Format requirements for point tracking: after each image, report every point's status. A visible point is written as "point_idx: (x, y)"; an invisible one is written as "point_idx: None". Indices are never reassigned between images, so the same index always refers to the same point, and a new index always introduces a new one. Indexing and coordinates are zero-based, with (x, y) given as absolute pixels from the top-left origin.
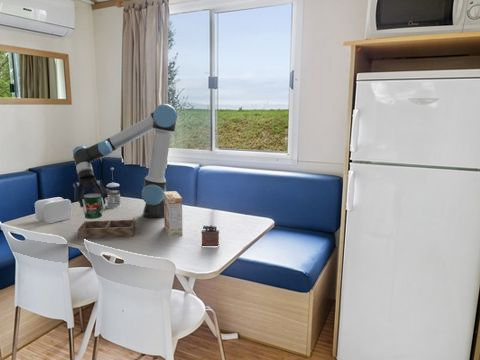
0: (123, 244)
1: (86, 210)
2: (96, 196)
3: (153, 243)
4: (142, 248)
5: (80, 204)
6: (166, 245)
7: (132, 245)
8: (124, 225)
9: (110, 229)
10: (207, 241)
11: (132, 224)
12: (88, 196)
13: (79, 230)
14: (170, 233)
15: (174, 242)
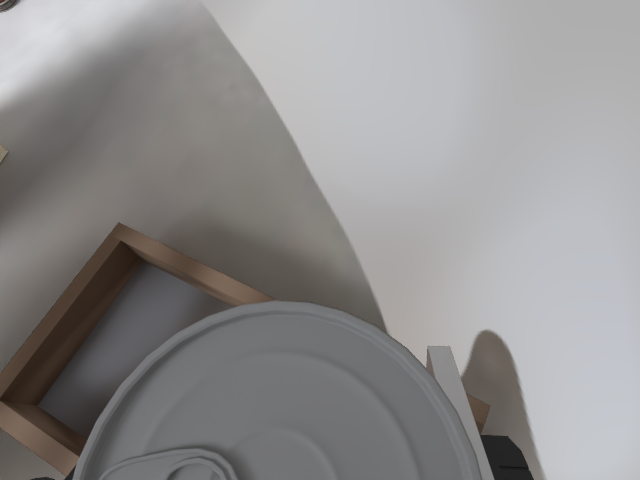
0: (250, 163)
1: (430, 347)
2: (225, 360)
3: (128, 109)
4: (202, 82)
5: (525, 471)
6: (101, 67)
7: (220, 131)
8: (83, 440)
9: (249, 289)
10: None
11: (74, 290)
12: (378, 468)
13: (475, 399)
14: None
15: (51, 80)
